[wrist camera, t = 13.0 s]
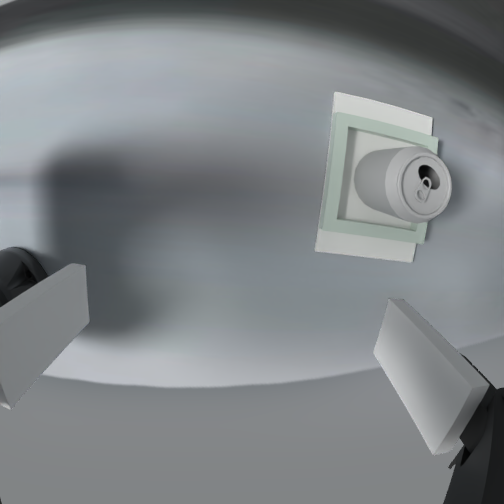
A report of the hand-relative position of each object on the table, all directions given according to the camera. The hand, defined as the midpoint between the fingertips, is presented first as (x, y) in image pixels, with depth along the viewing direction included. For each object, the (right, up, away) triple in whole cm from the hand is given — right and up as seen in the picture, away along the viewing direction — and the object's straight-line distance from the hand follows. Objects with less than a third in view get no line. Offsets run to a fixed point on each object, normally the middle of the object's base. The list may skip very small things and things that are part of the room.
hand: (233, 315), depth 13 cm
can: (+17, +11, +24) cm, 32 cm away
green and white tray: (+17, +12, +25) cm, 32 cm away
